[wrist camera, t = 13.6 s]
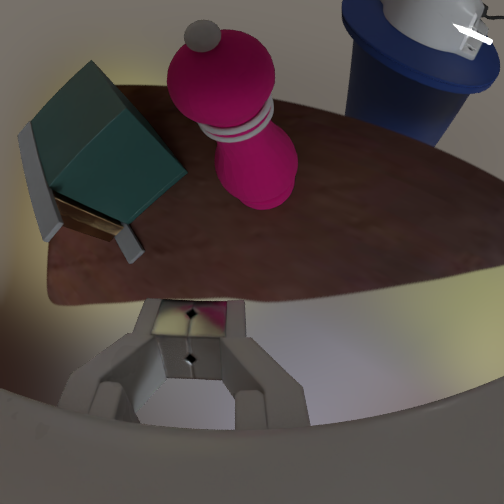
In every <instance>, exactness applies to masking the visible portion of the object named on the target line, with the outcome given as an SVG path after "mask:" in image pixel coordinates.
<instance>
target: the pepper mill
mask: <svg viewBox="0 0 504 504" xmlns="http://www.w3.org/2000/svg"><path fill="white" fill-rule="evenodd" d="M184 40H185V43H186V44H184V45H183V46H182V47H181V48H180V49H179V50H178V51H177V53H176V54H175V56H174V57H173V59H172V61H171V63H170V66H169V69H168V74H167V86H168V90H169V94H170V97H171V99H172V101H173V103H174V104H175V106H176V107H177V108H178V109H179V111H180V112H181V113H182V114H183V115H184V116H186V117H188V118H189V119H191V120H193V121H196V122H197V123H198V124H199V126H200V128H201V129H202V131H203V132H204V133H205V134H206V135H207V136H208V137H210V138H212V139H214V140H216V141H217V148H216V152H215V169H216V173H217V176H218V178H219V180H220V182H221V184H222V185H223V187H224V188H225V189H226V190H227V191H228V192H229V193H230V194H232V195H233V196H235V197H236V198H238V199H239V200H240V201H241V202H242V203H244V204H245V205H247V206H248V207H251V208H254V209H258V210H265V209H271V208H274V207H277V206H279V205H280V204H282V203H283V202H284V201H285V200H286V199H287V198H288V197H289V196H290V194H291V193H292V190H293V188H294V183H295V175H296V172H297V167H298V158H297V154H296V150H295V147H294V144H293V143H292V141H291V139H290V138H289V136H288V135H287V134H286V133H285V132H284V131H283V130H282V129H281V128H280V127H278V126H277V125H275V124H274V123H273V122H272V121H271V120H270V119H271V117H272V115H273V111H274V105H273V100H272V97H271V96H272V95H271V91H272V89H273V86H274V83H275V69H274V65H273V62H272V59H271V56H270V54H269V53H268V51H267V49H266V48H265V47H264V46H263V45H262V44H261V43H260V42H259V41H258V40H257V39H256V38H254V37H252V36H251V35H249V34H246V33H244V32H241V31H236V30H226V29H223V30H220V29H219V27H218V26H217V25H216V24H215V23H213V22H212V21H209V20H198V21H196V22H194V23H192V24H190V25H189V26H188V27H187V29H186V31H185V34H184Z"/></svg>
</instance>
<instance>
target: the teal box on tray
mask: <svg viewBox="0 0 504 504" xmlns="http://www.w3.org/2000/svg"><path fill="white" fill-rule="evenodd" d="M18 141H19V148H20V153H21V159H22V164H23V169H24V173H25V178H26V182H27V186H28V190H29V194H30V198H31V202H32V206H33V209H34V213H35V216H36V220H37V223H38V226H39V229H40V232H41V235H42V239H43V241H45V242H49V241H50V240H51V238H52V237H53V236H54V235H55V234H56V232H57V231H58V230H59V229H60V228H61V226H62V225H63V224H64V223H63V220H62V217H61V215H60V212H59V209H58V207H57V204H56V201H55V198H54V195H53V192H52V190H54V191H56V192H58V193H60V194H62V195H65V196H67V197H69V198H71V199H73V200H75V201H77V202H80V203H82V204H84V205H86V206H88V207H90V208H93V209H95V210H97V211H99V212H101V213H103V214H106V215H108V216H110V217H112V218H114V219H117V220H119V221H120V222H121V224H122V225H123V227H124V228H123V229H122V230H121V231H120V232H119V233H118V234H117V235H116V236H115V239H116V241H117V243H118V245H119V247H120V248H121V250H122V252H123V254H124V256H125V257H126V259H127V261H128V263H130V264H132V263H133V262H134V261H135V260H136V259H137V258H139V257H140V256H141V255H142V254H143V253H144V252H145V251H144V249H143V247H142V246H141V244H140V242H139V241H138V239H137V237H136V236H135V234H134V232H133V231H132V229H131V227H130V225H129V224H130V223H131V222H132V221H134V220H135V219H136V218H137V217H138V216H139V215H140V214H141V213H142V212H143V211H144V210H145V209H147V208H148V207H149V206H150V205H151V204H152V203H153V202H154V201H155V200H157V199H158V198H159V197H160V196H161V195H162V194H163V193H165V192H166V191H167V190H168V189H169V188H170V187H171V186H173V185H174V184H175V183H176V182H177V181H178V180H180V179H181V178H182V177H183V176H184V175H186V174H187V173H188V172H187V171H186V169H185V168H184V167H183V166H182V164H181V163H180V162H179V161H178V159H177V158H176V157H175V155H174V154H173V153H172V152H171V150H170V149H169V148H168V147H167V145H166V144H165V143H164V141H163V140H162V139H161V138H160V136H159V135H158V134H157V132H156V131H155V130H154V129H153V127H152V126H151V125H150V124H149V122H148V121H147V120H146V119H145V118H144V116H143V115H142V114H141V113H140V112H139V111H138V110H137V109H136V108H135V107H134V105H133V104H132V103H131V102H130V101H129V100H128V99H127V98H126V97H125V96H124V95H123V93H122V92H121V91H120V90H119V89H118V88H117V87H116V86H115V85H114V84H113V83H112V82H111V81H110V79H109V78H108V77H107V76H106V75H105V74H104V73H103V72H102V71H101V69H100V68H99V67H98V66H97V65H96V64H95V63H94V62H93V61H92V60H91V61H90V62H88V63H87V64H86V65H85V66H84V67H83V68H82V69H81V70H80V71H78V72H77V73H76V74H75V75H74V76H73V77H72V78H71V79H70V80H69V81H68V82H67V83H66V84H65V85H64V86H63V87H62V88H61V89H60V90H59V91H58V92H57V93H56V94H55V95H54V96H53V97H52V98H51V99H50V100H49V101H48V102H47V104H46V105H45V106H44V107H43V108H42V109H41V110H40V111H39V112H38V114H37V115H36V116H35V117H34V119H32V121H29V122H28V123H27V124H26V126H25V127H24V128H23V130H22V131H21V132H20V133H19V134H18Z"/></svg>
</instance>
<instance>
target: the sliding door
mask: <svg viewBox="0 0 504 504" xmlns="http://www.w3.org/2000/svg"><path fill="white" fill-rule="evenodd" d="M52 192H53V195H54V198H55V201H56V204H57V207H58V209H59V212H60V215H61V217H62V220H63V223H64V224H63V225H62V226H64V227H67V228H70V229H73V230H76V231H78V232H81V233H84V234H87V235H90V236H93V237H96V238H99V239H102V240H105V241H108V242H110V241H111V240H112V239H113V238H114V237H115V236H116V235H117V234H118V233H119V232H120V231H121V230H122V229H123V228H124V227H123V225H122V224H121V222H120V221H119V220H117V219H114V218H112V217H110V216H108V215H106V214H103V213H101V212H99V211H97V210H95V209H93V208H90V207H88V206H86V205H84V204H82V203H80V202H77V201H75V200H73V199H71V198H69V197H67V196H65V195H62V194H60V193H58V192H56V191H54V190H52Z"/></svg>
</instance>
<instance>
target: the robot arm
mask: <svg viewBox="0 0 504 504" xmlns="http://www.w3.org/2000/svg"><path fill="white" fill-rule="evenodd" d="M380 1H381V2H382V4H383V13H384V15H385V17H386V19H387V20H388V21H389V23H390V24H391V25H392V26H394V27H395V28H396V29H397V30H398V31H400V32H401V33H403V34H404V35H406V36H407V37H409V38H411V39H413V40H415V41H417V42H419V43H421V44H423V45H425V46H428V47H430V48H433V49H437V50H440V51H445V52H451V53H455V54H458V55H460V56H462V57H464V58H466V59H469V60H474V59H475V57H476V55H477V53H478V51H479V49H480V47H481V45H482V43H483V42H485V43H487V44H489V45H491V43H492V40H491V39H489V38H487V37H486V35H487V33H488V30H489V29H488V27H487V26H486V25H485V23H484V22H483V21H482V20H481V19H480V18H481V17H486V18H487V19H492V20H494V19H504V16H487V15H486V13H487V10H488V6H486V5H485V4H484V3H483V2H482V1H481V0H380ZM167 378H181V379H182V378H183V379H205V380H222V381H223V383H224V384H225V386H226V387H227V389H228V390H229V392H230V393H231V395H232V396H233V397H234V399H235V430H208V429H189V428H176V427H165V426H155V425H147V424H141V423H140V421H139V420H138V417H137V415H136V413H137V412H138V411H139V410H140V408H141V407H142V406H143V405H144V404H145V403H146V402H147V401H148V400H149V398H150V397H151V396H152V395H153V394H154V393H155V392H156V391H157V389H159V388H160V386H161V385H162V384H163V383H164V382H165V381H166V380H167ZM0 504H504V376H503V377H500V378H498V379H496V380H493V381H491V382H489V383H486V384H484V385H481V386H478V387H476V388H473V389H470V390H468V391H465V392H462V393H459V394H456V395H454V396H450V397H447V398H444V399H441V400H438V401H434V402H431V403H428V404H424V405H421V406H417V407H413V408H409V409H405V410H401V411H397V412H392V413H388V414H383V415H379V416H374V417H368V418H363V419H357V420H351V421H345V422H339V423H331V424H324V425H315V426H310V421H309V415H308V410H307V406H306V400H305V396H304V390H303V387H302V386H301V385H300V384H299V383H298V382H297V381H296V380H295V379H293V377H291V376H290V375H289V374H288V373H287V372H286V371H285V370H284V369H283V368H282V367H281V366H280V365H279V364H278V363H277V362H276V361H275V360H274V359H273V358H272V357H270V355H269V354H268V353H266V351H265V350H263V349H262V348H261V347H260V346H259V345H258V344H257V343H256V342H255V341H254V340H253V339H252V338H246V319H245V302H244V300H232V301H193V300H172V299H150V298H147V299H146V300H145V301H144V304H143V307H142V309H141V312H140V314H139V317H138V319H137V322H136V325H135V327H134V330H133V333H127V334H126V335H124V336H123V337H122V338H120V339H119V340H117V341H116V342H115V343H113V344H112V345H110V346H109V347H107V348H106V349H105V350H103V351H102V352H101V353H99V354H98V355H96V356H95V357H93V358H92V359H91V360H89V361H88V362H87V363H85V364H84V365H82V366H81V367H79V368H78V369H77V370H75V371H74V372H72V373H71V375H70V377H69V379H68V381H67V384H66V386H65V388H64V391H63V393H62V395H61V398H60V401H59V403H58V405H57V407H56V406H53V405H49V404H45V403H42V402H39V401H36V400H32V399H29V398H26V397H23V396H20V395H18V394H15V393H12V392H9V391H7V390H4V389H1V388H0Z"/></svg>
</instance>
